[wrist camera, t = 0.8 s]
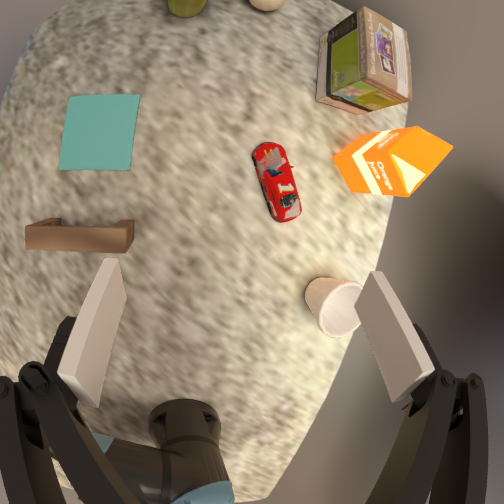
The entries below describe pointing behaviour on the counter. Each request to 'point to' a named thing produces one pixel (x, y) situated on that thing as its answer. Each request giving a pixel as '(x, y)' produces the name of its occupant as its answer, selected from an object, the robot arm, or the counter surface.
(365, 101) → the tea box
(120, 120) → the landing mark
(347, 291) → the cup
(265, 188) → the race car
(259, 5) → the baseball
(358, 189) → the orange juice
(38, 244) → the bridge
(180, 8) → the plant pot
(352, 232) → the counter surface
